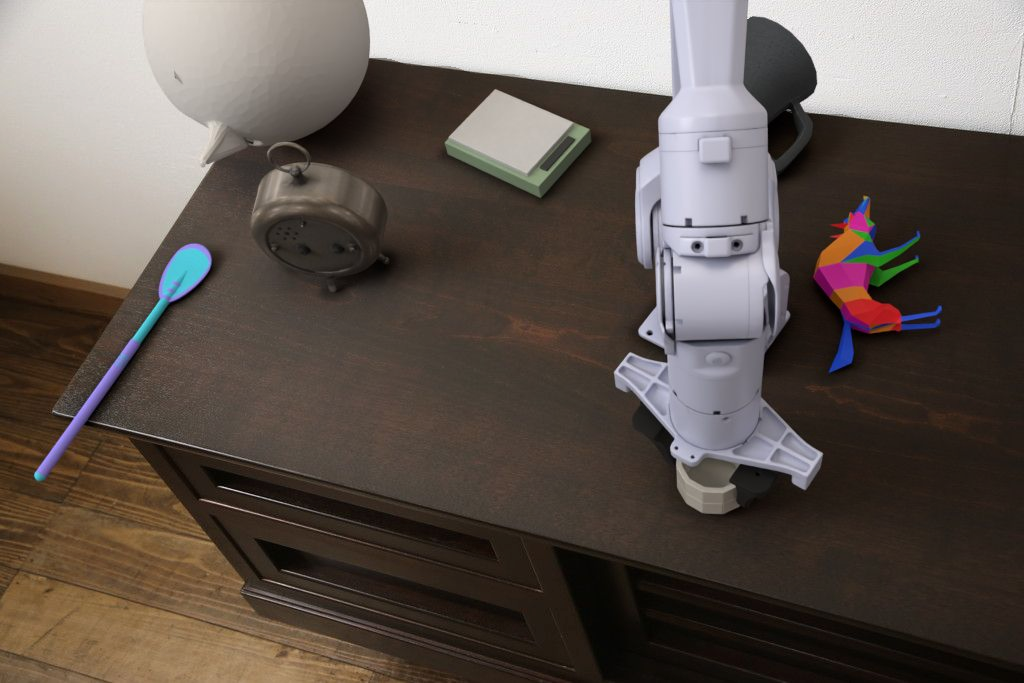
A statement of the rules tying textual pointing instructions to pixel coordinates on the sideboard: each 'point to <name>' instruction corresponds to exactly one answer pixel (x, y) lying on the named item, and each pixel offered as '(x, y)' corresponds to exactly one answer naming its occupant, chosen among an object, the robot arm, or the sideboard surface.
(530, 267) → the sideboard surface
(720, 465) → the bowl
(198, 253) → the spoon
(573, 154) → the scale
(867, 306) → the figurine
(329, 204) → the alarm clock
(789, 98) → the mug
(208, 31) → the mask
